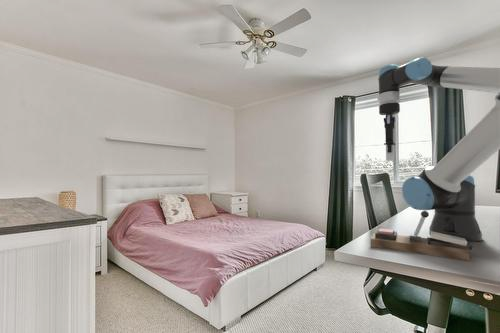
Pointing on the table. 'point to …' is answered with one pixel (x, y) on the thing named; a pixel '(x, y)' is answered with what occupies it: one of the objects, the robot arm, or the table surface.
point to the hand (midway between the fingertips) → (389, 160)
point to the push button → (386, 231)
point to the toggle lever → (421, 222)
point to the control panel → (421, 245)
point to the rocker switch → (449, 238)
